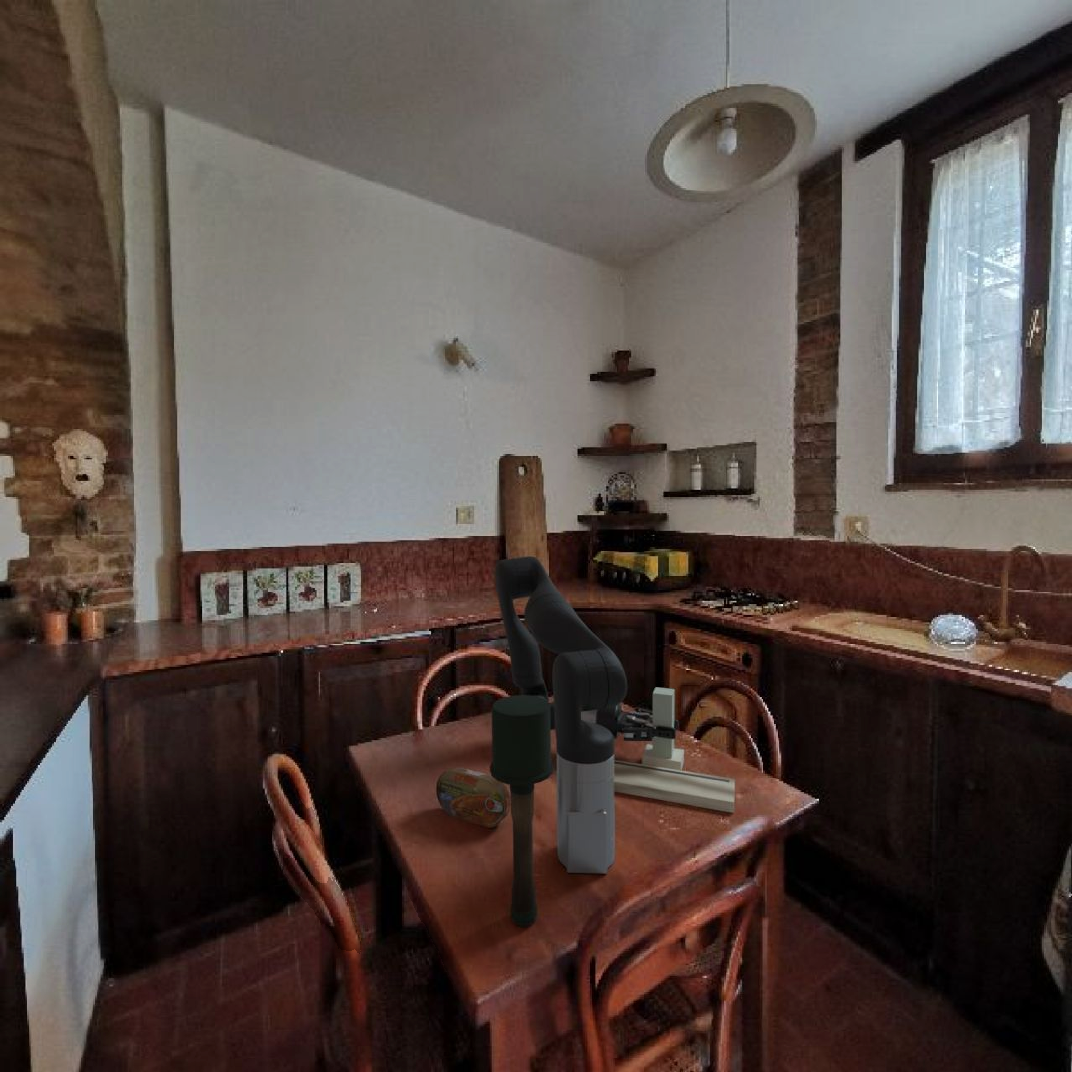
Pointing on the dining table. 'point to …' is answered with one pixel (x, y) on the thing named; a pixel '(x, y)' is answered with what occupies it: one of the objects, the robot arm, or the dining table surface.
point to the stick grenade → (522, 784)
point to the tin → (473, 796)
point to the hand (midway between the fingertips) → (676, 729)
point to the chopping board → (675, 785)
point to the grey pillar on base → (661, 748)
